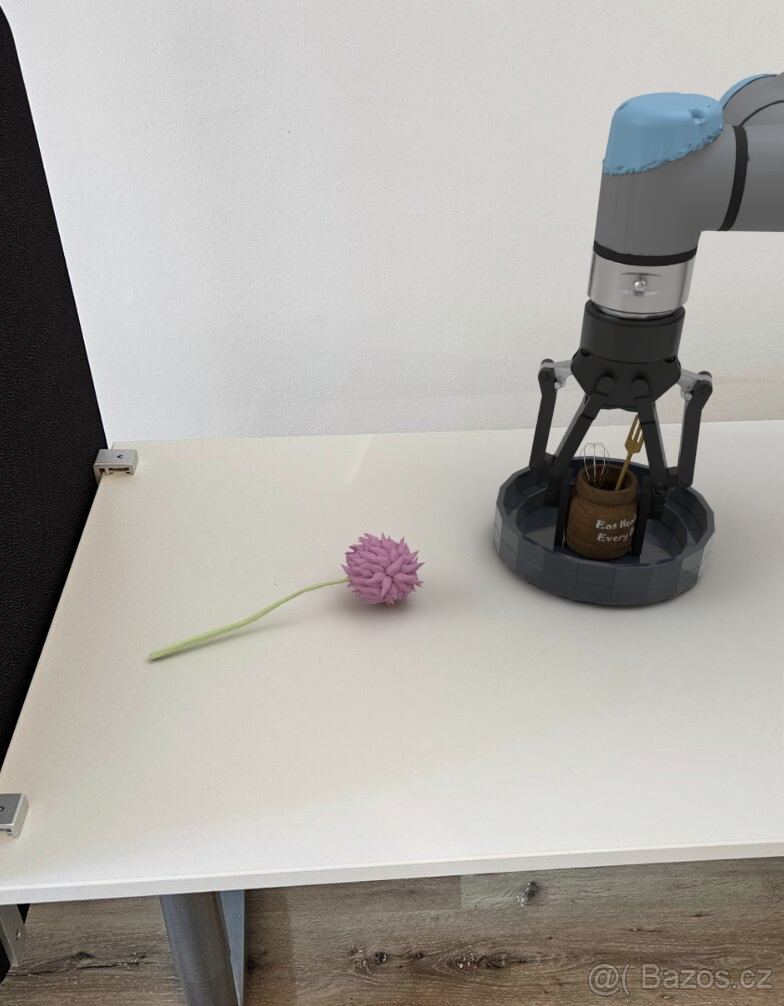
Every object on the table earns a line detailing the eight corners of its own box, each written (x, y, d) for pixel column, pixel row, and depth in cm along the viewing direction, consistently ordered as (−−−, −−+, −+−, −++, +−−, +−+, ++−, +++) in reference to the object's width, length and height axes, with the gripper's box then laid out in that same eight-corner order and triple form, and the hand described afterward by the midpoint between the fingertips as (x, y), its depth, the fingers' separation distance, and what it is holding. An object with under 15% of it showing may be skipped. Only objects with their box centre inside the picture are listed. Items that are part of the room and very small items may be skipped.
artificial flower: (176, 717, 88) (444, 602, 92) (152, 648, 85) (430, 532, 89) (154, 677, 94) (407, 571, 98) (131, 612, 91) (392, 505, 95)
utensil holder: (548, 538, 99) (563, 424, 93) (599, 517, 101) (617, 404, 95) (597, 570, 94) (615, 452, 88) (649, 547, 97) (671, 430, 90)
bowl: (702, 508, 102) (711, 468, 100) (707, 626, 88) (718, 582, 86) (505, 485, 108) (509, 446, 106) (480, 591, 94) (484, 549, 92)
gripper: (506, 311, 86) (485, 548, 98) (771, 329, 79) (712, 580, 92) (517, 277, 91) (495, 505, 104) (765, 291, 85) (710, 532, 97)
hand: (597, 539), depth 98 cm, fingers closed on utensil holder, 6 cm apart
